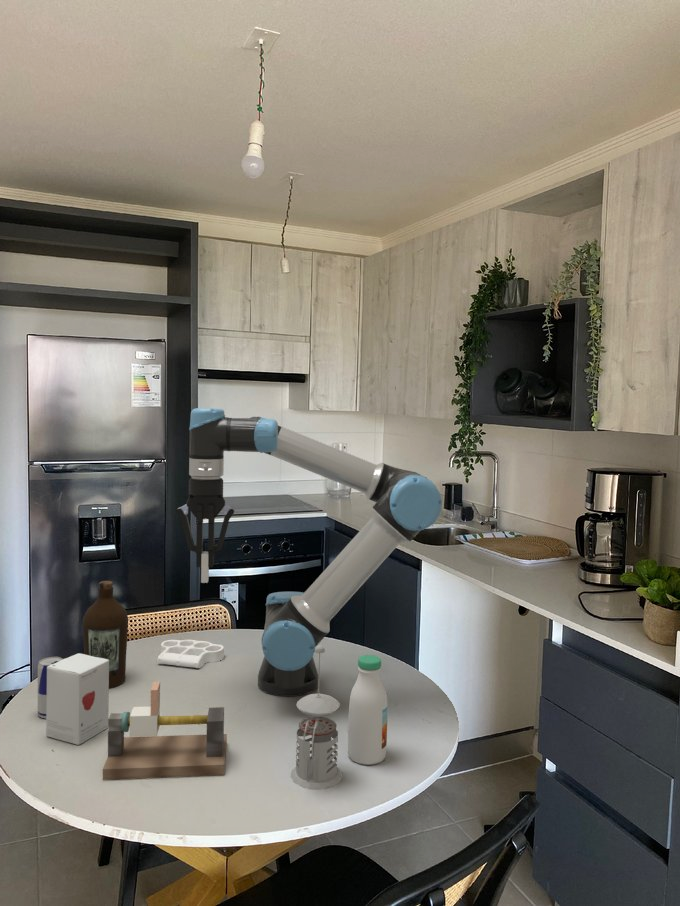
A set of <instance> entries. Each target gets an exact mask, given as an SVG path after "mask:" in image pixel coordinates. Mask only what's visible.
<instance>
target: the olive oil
mask: <svg viewBox="0 0 680 906" xmlns="http://www.w3.org/2000/svg"><path fill="white" fill-rule="evenodd" d="M90 605H91V604H90ZM128 630H129V616H128V613H127V610H126V608H125V607H124V606H123V605H122V604H121V603H120V602H119V601H118V600H117V599H115V597H114V587H113V581H112V580H102V581H100V582H99V583H98V597H97V599H96V600H95V601H94V602H93V603H92V605H91V606H89V608H88V609H87V610H86V611H85V613H84V615H83V617H82V637H83V638H82V639H83V654H85V655H89V656H93V657H98V658H104V659H108V660H109V689H114V688H116V687H118V686H120V685H123V684H124V682H126V670H127V667H126V666H127V646H128V645H127V644H128Z"/></svg>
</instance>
